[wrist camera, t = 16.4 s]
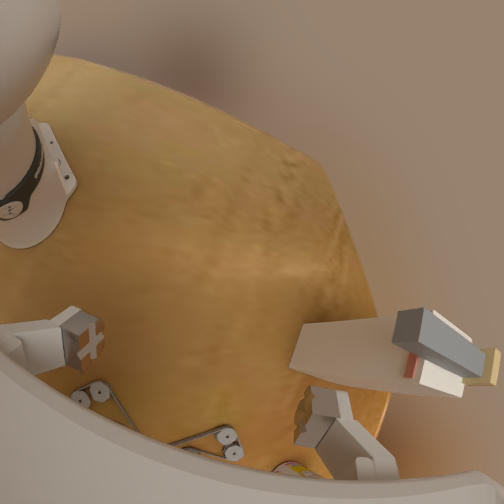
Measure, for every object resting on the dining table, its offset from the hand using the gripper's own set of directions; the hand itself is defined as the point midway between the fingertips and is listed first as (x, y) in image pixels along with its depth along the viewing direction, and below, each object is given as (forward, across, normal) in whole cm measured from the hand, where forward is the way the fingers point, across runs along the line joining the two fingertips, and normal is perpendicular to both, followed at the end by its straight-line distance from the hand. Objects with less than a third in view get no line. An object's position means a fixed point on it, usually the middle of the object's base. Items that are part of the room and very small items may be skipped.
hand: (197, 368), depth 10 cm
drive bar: (+16, +23, -5) cm, 29 cm away
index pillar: (+36, +16, -20) cm, 44 cm away
